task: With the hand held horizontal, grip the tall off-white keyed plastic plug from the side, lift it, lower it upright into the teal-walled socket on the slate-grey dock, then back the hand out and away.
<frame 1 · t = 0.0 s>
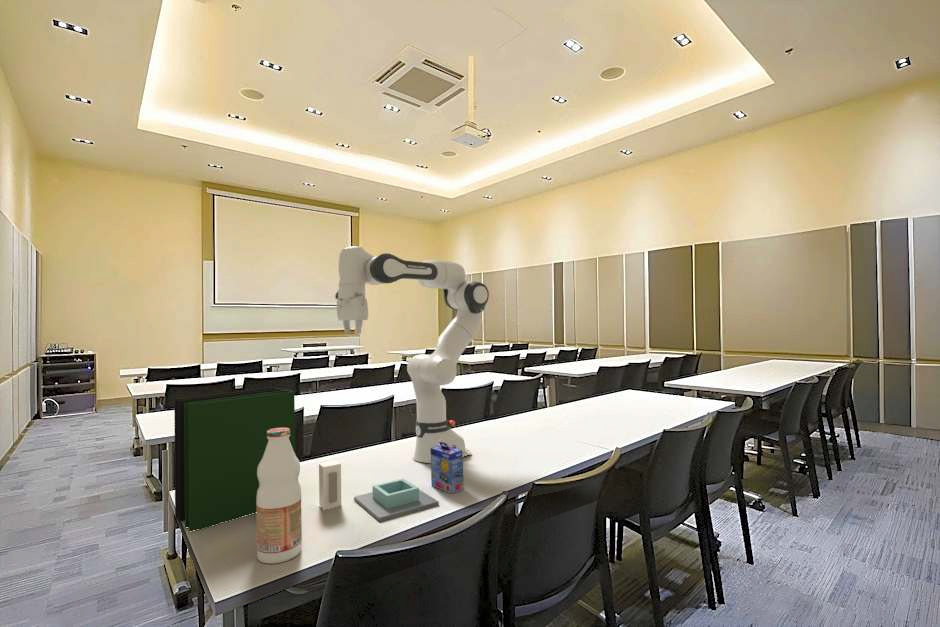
hand: (352, 333, 158), 48 cm above the table, tool pointing down, fingers open, 8 cm apart
binder: (236, 509, 130), on the table
fruit juice: (279, 554, 104), on the table
keyed plug: (330, 505, 131), on the table
ink cartridge box: (447, 488, 144), on the table
socket dock: (395, 502, 133), on the table
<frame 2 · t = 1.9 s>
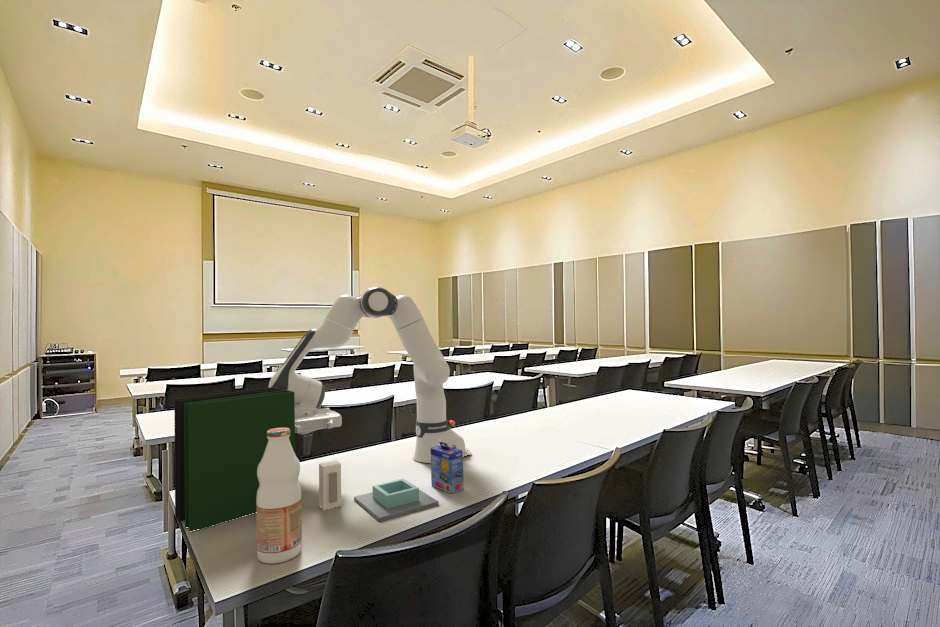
hand: (315, 427, 142), 20 cm above the table, tool horizontal, fingers open, 8 cm apart
nothing on the table moved.
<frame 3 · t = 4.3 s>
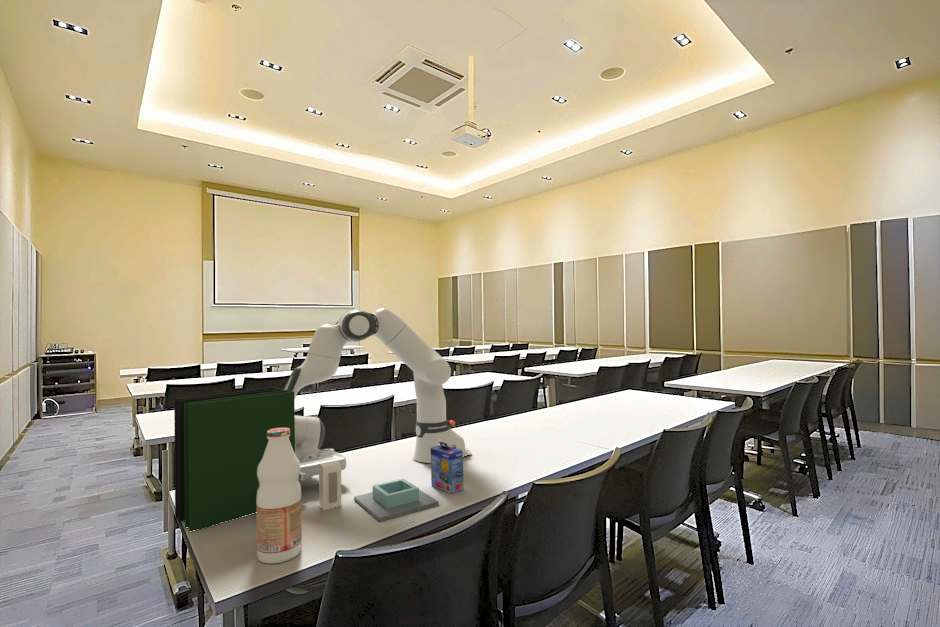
hand: (320, 474, 139), 6 cm above the table, tool horizontal, fingers open, 8 cm apart
nothing on the table moved.
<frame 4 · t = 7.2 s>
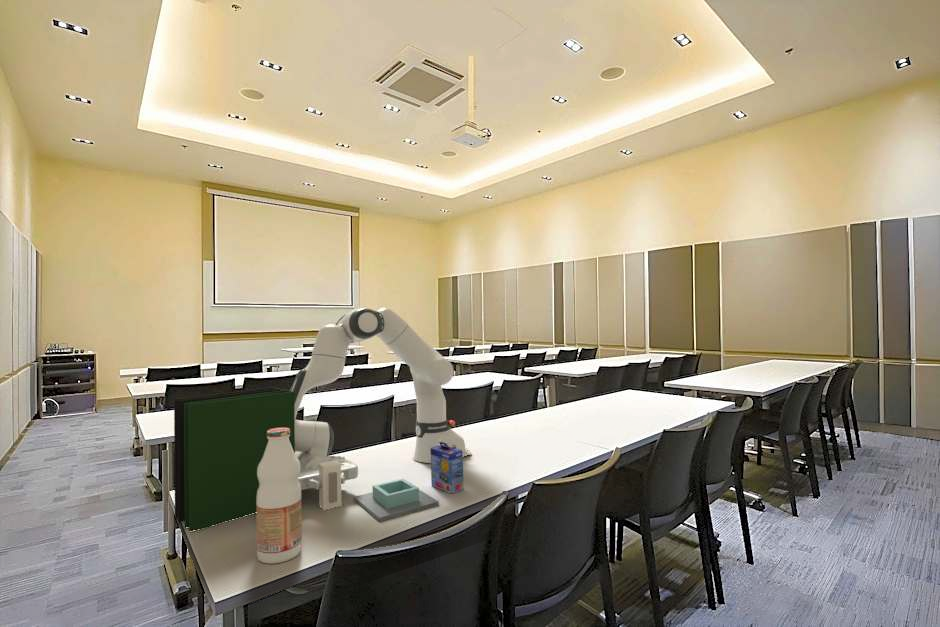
hand: (331, 483, 130), 7 cm above the table, tool horizontal, fingers closed on keyed plug, 5 cm apart
keyed plug: (330, 505, 131), on the table, touching gripper
everything else where it was.
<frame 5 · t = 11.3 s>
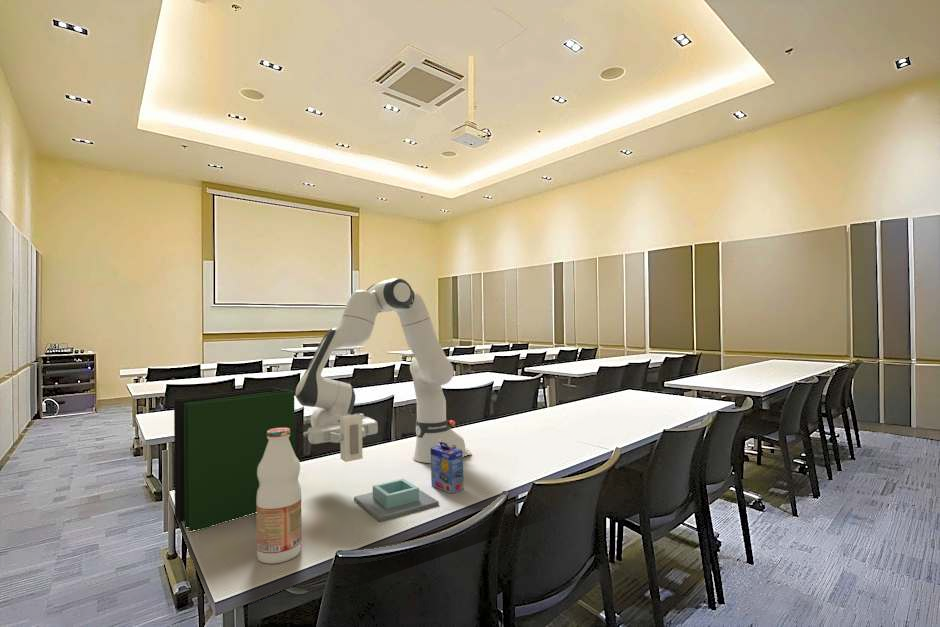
hand: (352, 436, 131), 20 cm above the table, tool horizontal, fingers closed on keyed plug, 5 cm apart
keyed plug: (351, 458, 132), point 13 cm above the table, touching gripper
everything else where it was.
when the fingers open (8 cm above the table, at t = 15.6 s): keyed plug stays where it is, resting on socket dock.
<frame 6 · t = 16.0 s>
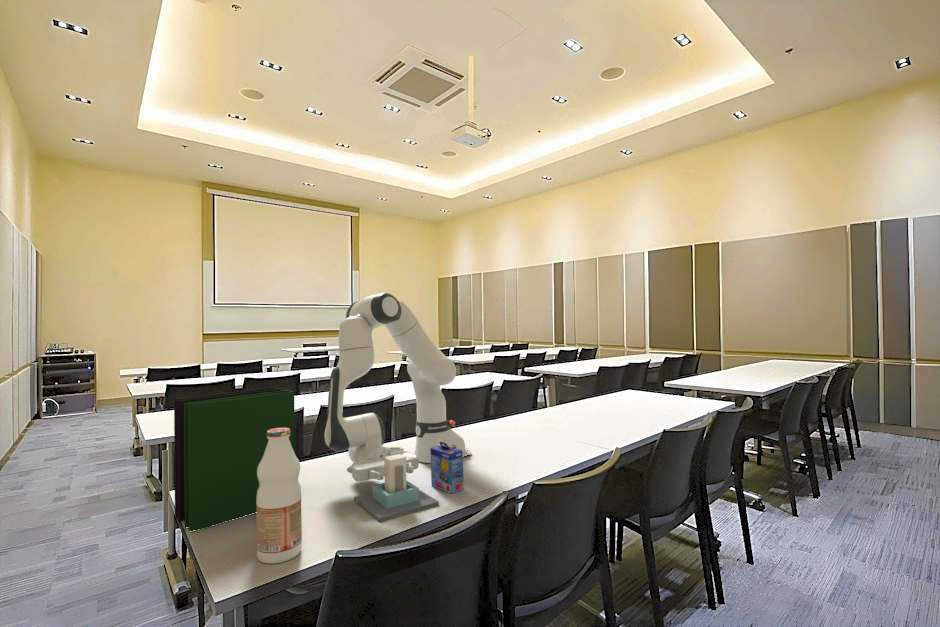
hand: (396, 473, 132), 8 cm above the table, tool horizontal, fingers open, 8 cm apart
keyed plug: (395, 499, 133), point 1 cm above the table, touching socket dock
everything else where it was.
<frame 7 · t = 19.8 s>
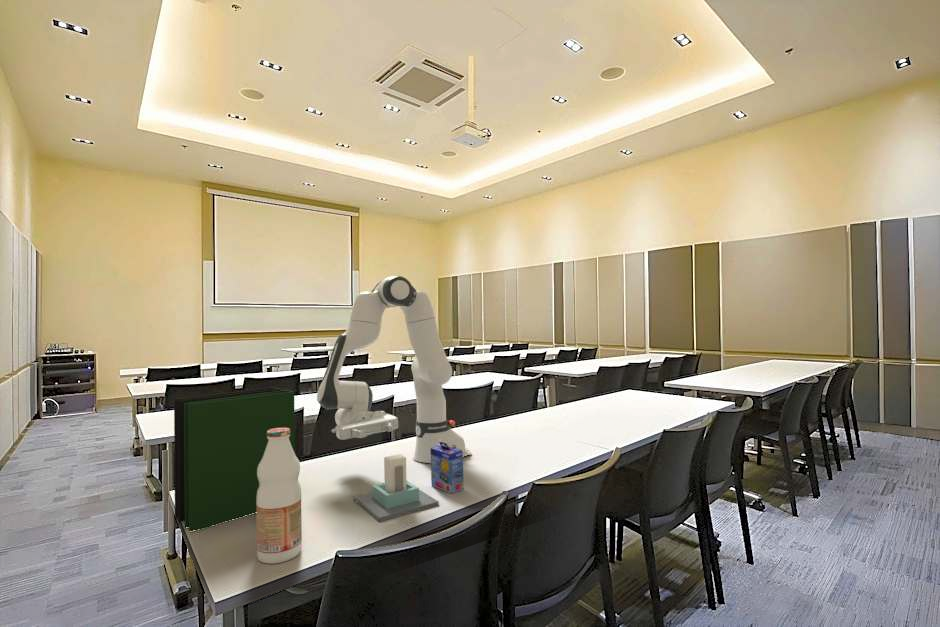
hand: (376, 431, 145), 18 cm above the table, tool horizontal, fingers open, 8 cm apart
nothing on the table moved.
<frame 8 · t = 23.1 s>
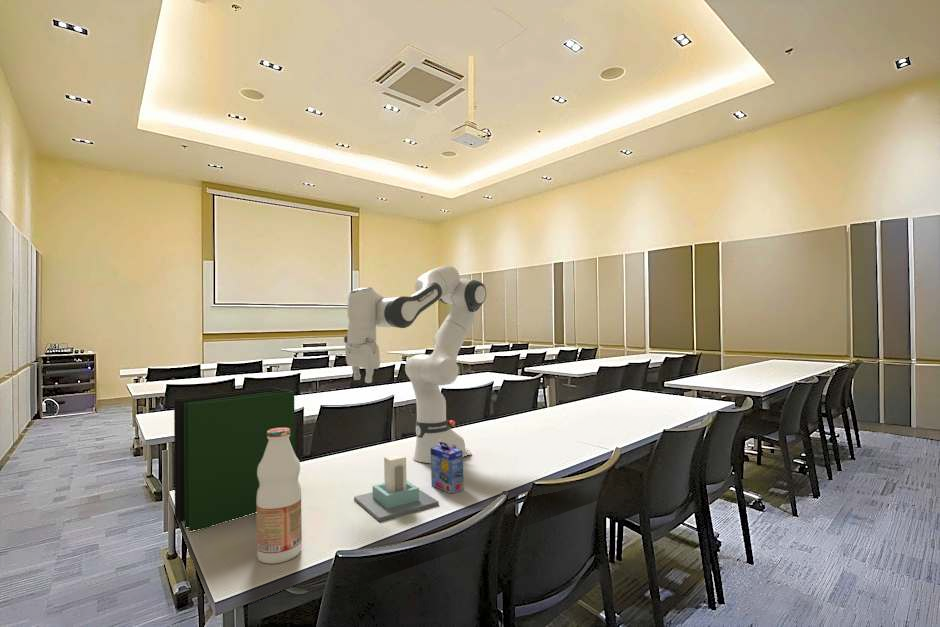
hand: (362, 381, 148), 33 cm above the table, tool pointing down, fingers open, 8 cm apart
nothing on the table moved.
at the end: keyed plug 0.0 cm off-centre on the socket dock, point 1.0 cm above the socket dock's base; keyed plug tilted 0°; the gripper is holding nothing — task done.
